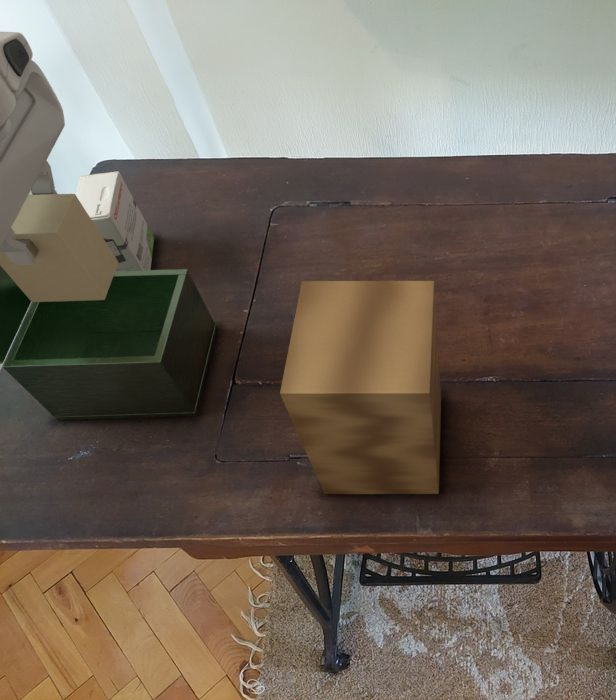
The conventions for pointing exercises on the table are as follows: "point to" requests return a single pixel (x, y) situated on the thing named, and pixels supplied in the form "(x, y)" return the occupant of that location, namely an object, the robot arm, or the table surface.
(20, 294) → the lid
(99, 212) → the ink box
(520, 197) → the table surface
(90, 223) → the carton
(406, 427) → the stand
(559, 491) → the table surface
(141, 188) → the table surface
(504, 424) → the table surface
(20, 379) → the bin
